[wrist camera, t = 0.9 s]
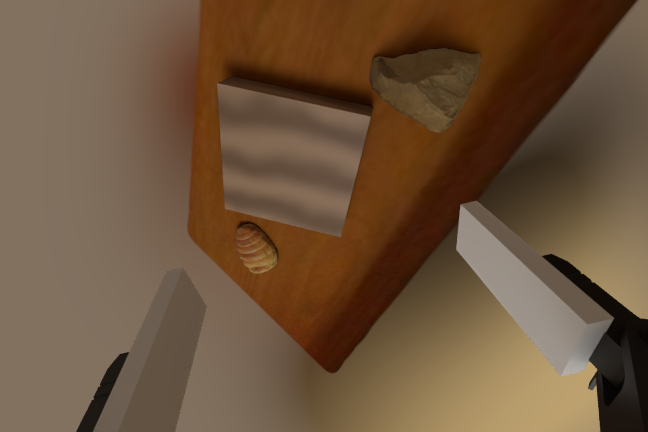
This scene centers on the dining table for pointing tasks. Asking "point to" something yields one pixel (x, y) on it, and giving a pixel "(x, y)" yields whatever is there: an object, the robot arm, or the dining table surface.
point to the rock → (426, 84)
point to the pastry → (255, 249)
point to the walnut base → (289, 153)
